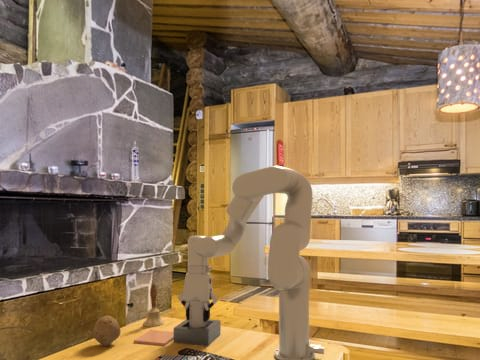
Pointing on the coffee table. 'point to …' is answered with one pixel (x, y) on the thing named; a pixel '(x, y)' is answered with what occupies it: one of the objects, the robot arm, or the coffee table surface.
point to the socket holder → (197, 333)
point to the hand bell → (153, 311)
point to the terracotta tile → (155, 337)
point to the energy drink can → (196, 314)
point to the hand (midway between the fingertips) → (197, 319)
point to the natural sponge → (106, 330)
